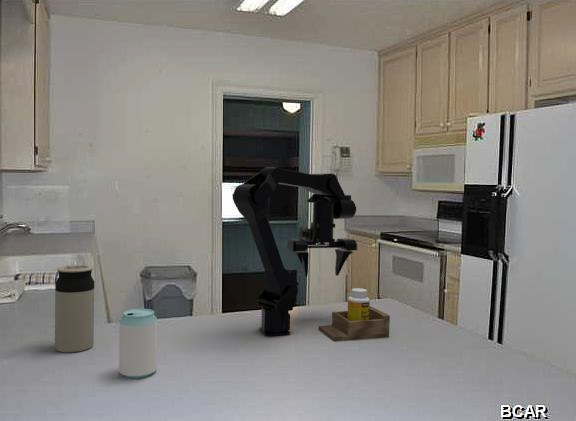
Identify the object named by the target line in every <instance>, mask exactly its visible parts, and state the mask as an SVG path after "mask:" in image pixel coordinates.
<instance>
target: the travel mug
mask: <svg viewBox="0 0 576 421" xmlns="http://www.w3.org/2000/svg"><path fill="white" fill-rule="evenodd" d="M93 270H94V266H92V265H88V264H87V265H86V264H71V265H70V264H67V265H62V266H58V267H57V268H56V271H57V274H58V278H56V281H55V283H54V285H55V286H54V287H55V288H54V289H55V290H54V306H55V307H54V349H55V350H56V351H58V352H61V353H69V354H70V353H79V352H80V353H81V352H83V351H86V350H89V349H90V348H92V347H93V346H94V343H95V342H94V341H95V336H94V335H95V334H94V333H95V280H94V278H93V276H92V271H93Z"/></svg>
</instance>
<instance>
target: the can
mask: <svg viewBox="0 0 576 421" xmlns="http://www.w3.org/2000/svg"><path fill="white" fill-rule="evenodd" d="M158 321H159V320H158V318H157V316H156V315H155V311H154V310H153V309H151V308H133V309H129V310H128V309H127V310H125V311H124V312H123V315H122V317H121V319H120V321H119V337H118V338H119V340H118V342H119V345H118V346H119V350H118V352H119V353H118V354H119V356H118V358H119V359H118V373H120V374H121V375H122V376H124V377H126V378H128V379H141V378H142V379H143V378H146V377H149V376H150V375H152V374H153V373H155V372H156V371H157V370H158V369H157V368H158V364H157V363H158Z"/></svg>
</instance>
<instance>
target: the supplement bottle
mask: <svg viewBox="0 0 576 421" xmlns="http://www.w3.org/2000/svg"><path fill="white" fill-rule="evenodd" d="M350 293H351V294H350V296H348V299H347V311H348V314H347V319H348V320H350V321H361V320H369V306H371V305H370V304H371V303H370V302H371V300H370V298H369V297H368V290H367V289H365V288H358V287H356V288H352V289H351V292H350Z"/></svg>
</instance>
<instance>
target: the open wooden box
mask: <svg viewBox="0 0 576 421" xmlns="http://www.w3.org/2000/svg"><path fill="white" fill-rule="evenodd" d="M347 314H348V310H343V311H331V316H332V317H331V324H327V325H318V328H317V329H319V330H318V331H320V332H321V333H322V332H323V333H322V334H324V335H325V336H326V335H327V336H326V337H328V338H329V339H330V340H332V341H333V342H343V341H344V342H345V341H346V342H347V341H358V340H370V339H382V338H390V320H391V317H390V316H391V315H389V314H388V313H386V312H384V311H381V310H379V309H377V308H375V307H373V306H371V305H370V306H369V320H361V321H350V320H348V319H347Z"/></svg>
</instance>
